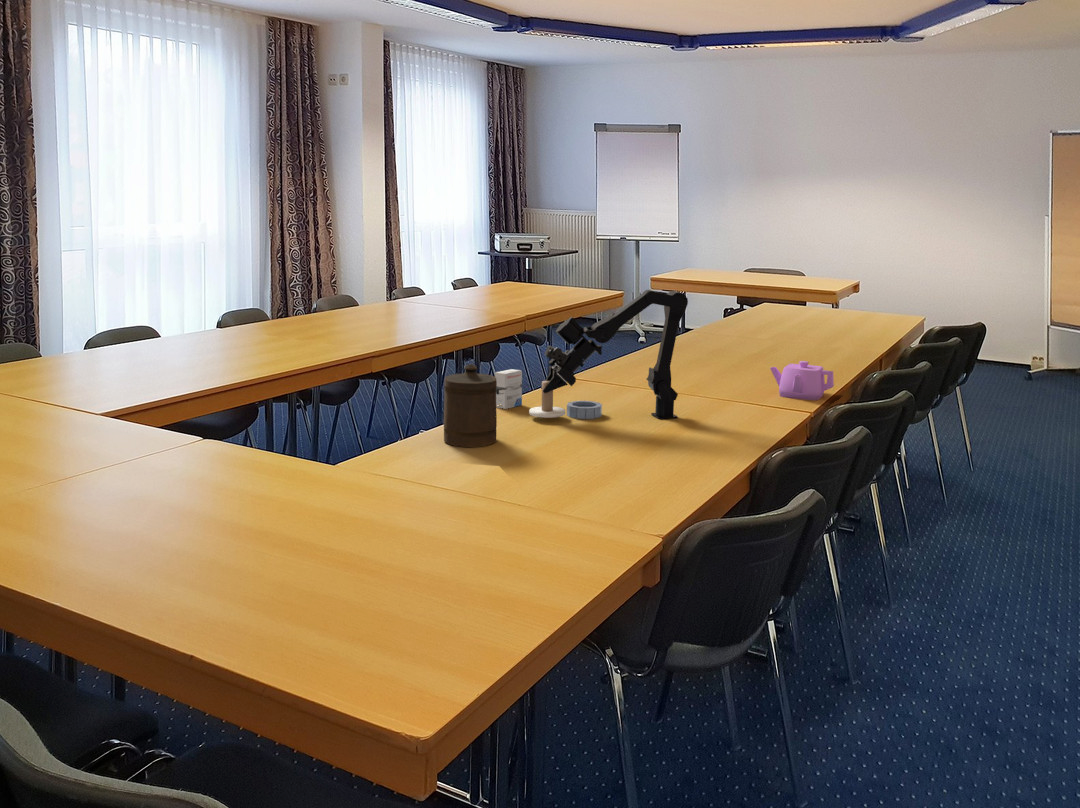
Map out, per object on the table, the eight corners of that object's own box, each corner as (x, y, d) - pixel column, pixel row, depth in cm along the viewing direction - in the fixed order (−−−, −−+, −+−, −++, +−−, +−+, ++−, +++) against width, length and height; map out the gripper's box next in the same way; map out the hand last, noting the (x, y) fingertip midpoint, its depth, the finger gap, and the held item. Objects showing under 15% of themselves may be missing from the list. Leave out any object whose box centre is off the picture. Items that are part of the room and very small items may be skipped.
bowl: (606, 418, 299) (606, 407, 298) (573, 419, 296) (573, 408, 295) (594, 410, 309) (594, 399, 308) (562, 412, 306) (563, 401, 305)
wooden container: (502, 436, 276) (502, 361, 271) (488, 449, 261) (488, 370, 257) (452, 432, 279) (452, 358, 274) (437, 445, 264) (436, 367, 260)
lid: (570, 416, 293) (570, 384, 291) (535, 418, 290) (535, 386, 288) (558, 408, 303) (559, 377, 301) (524, 410, 300) (524, 379, 298)
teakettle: (836, 399, 331) (839, 364, 328) (793, 402, 326) (796, 366, 323) (808, 389, 347) (810, 356, 344) (767, 392, 342) (769, 358, 339)
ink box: (511, 403, 318) (511, 368, 316) (522, 405, 315) (522, 370, 313) (494, 407, 312) (494, 371, 309) (505, 409, 309) (505, 373, 306)
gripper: (555, 332, 301) (520, 367, 302) (565, 341, 283) (528, 379, 284) (580, 356, 304) (545, 391, 305) (591, 367, 286) (554, 404, 287)
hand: (542, 390), depth 295 cm, fingers closed on lid, 3 cm apart
